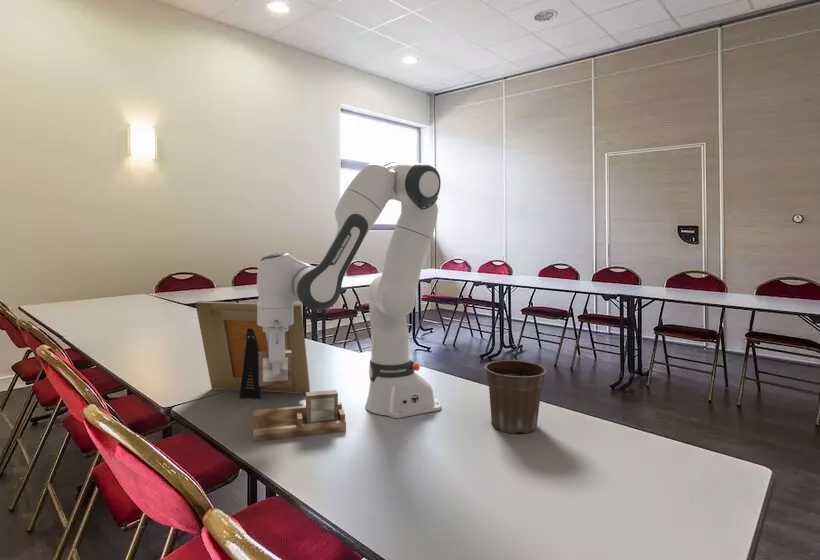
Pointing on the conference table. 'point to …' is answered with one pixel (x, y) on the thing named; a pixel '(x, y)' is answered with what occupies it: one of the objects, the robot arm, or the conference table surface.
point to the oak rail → (291, 423)
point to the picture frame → (247, 348)
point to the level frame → (321, 406)
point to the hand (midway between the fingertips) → (275, 371)
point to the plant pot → (514, 394)
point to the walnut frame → (266, 370)
